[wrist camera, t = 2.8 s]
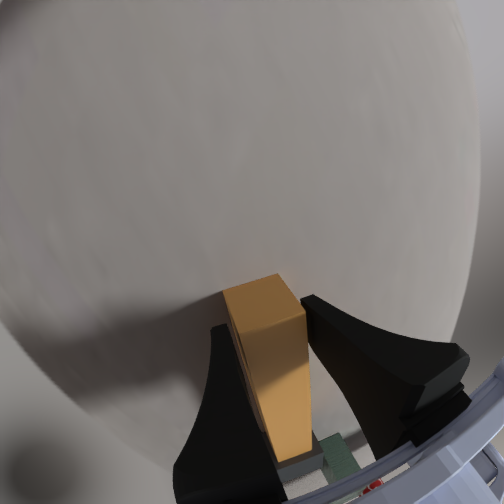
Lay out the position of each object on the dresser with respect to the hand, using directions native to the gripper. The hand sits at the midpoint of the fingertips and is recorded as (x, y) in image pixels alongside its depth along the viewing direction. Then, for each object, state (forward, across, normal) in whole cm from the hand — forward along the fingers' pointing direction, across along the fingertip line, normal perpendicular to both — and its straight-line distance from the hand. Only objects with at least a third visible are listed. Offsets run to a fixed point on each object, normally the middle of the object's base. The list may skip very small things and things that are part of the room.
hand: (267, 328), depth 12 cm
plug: (+2, 0, +8) cm, 8 cm away
